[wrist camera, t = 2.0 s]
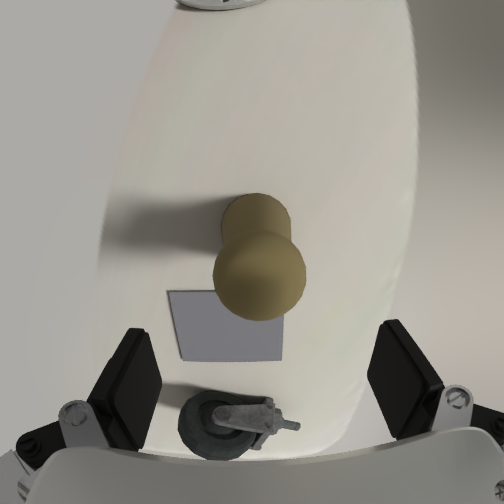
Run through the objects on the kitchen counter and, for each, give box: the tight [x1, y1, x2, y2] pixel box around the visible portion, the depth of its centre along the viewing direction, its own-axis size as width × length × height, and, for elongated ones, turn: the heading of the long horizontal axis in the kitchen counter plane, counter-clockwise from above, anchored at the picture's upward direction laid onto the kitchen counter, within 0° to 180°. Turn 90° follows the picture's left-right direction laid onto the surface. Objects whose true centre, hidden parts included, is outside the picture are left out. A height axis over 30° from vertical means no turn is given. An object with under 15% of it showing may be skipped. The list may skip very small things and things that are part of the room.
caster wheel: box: [178, 391, 301, 461], centre depth 29 cm, size 6×10×15 cm
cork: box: [213, 193, 306, 321], centre depth 20 cm, size 6×6×11 cm
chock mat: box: [169, 290, 284, 362], centre depth 28 cm, size 9×11×1 cm
